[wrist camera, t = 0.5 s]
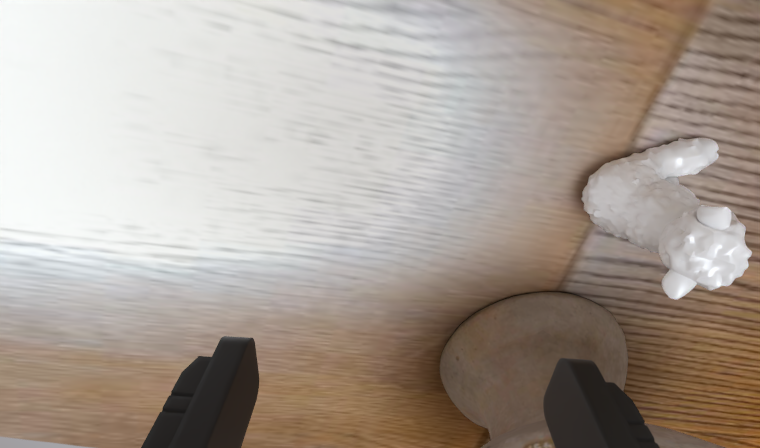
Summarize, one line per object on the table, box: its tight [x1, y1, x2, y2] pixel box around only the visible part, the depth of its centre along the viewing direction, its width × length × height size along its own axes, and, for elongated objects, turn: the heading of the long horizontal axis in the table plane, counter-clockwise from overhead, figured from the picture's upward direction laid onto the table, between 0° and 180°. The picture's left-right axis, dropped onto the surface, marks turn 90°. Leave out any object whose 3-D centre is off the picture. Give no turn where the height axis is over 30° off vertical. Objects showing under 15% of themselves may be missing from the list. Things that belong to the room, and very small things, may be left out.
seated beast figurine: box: [581, 138, 752, 300], centre depth 27 cm, size 10×9×12 cm
